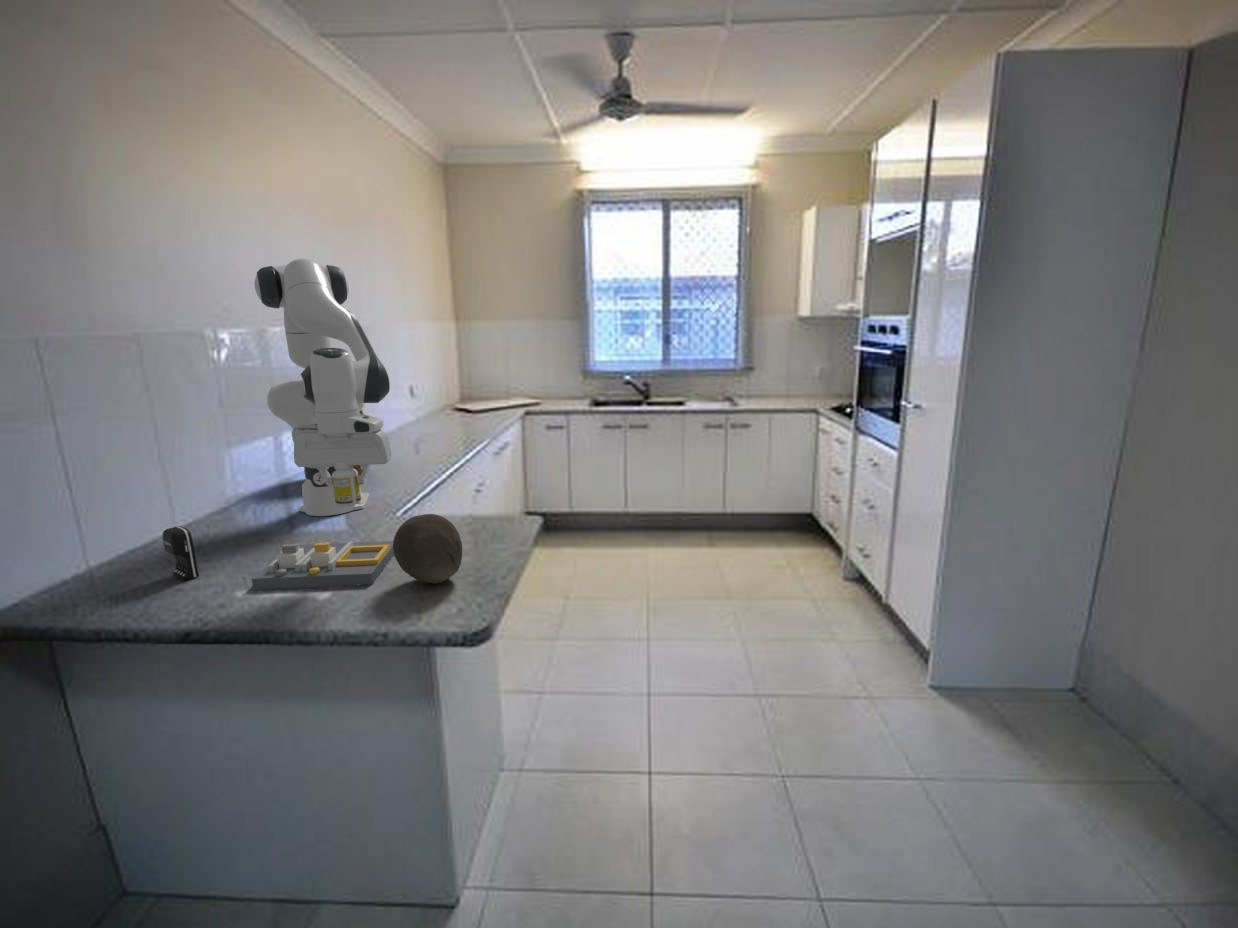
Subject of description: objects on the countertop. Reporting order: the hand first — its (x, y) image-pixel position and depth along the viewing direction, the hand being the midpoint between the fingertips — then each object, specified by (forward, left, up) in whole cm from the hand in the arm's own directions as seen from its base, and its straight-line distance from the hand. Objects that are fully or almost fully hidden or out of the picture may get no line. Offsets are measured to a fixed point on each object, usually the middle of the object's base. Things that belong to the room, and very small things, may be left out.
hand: (346, 484), depth 140 cm
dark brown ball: (+10, +19, -20) cm, 30 cm away
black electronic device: (+1, -38, -20) cm, 43 cm away
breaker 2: (+3, -6, -17) cm, 19 cm away
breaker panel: (0, -6, -20) cm, 21 cm away
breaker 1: (+3, -13, -17) cm, 22 cm away
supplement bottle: (0, 0, -5) cm, 5 cm away
